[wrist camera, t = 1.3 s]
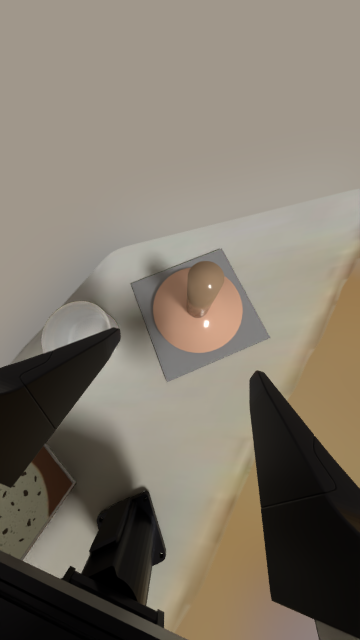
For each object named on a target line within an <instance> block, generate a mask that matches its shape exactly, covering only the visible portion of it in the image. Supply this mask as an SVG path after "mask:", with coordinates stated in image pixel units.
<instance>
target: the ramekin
mask: <svg viewBox="0 0 360 640" xmlns="http://www.w3.org/2000/svg"><path fill="white" fill-rule="evenodd" d="M113 327H115V328H119V327H118V325H117V323H116V321H115V320H114V319H113V318H112V317H111V316H110V315H108V314H107V313H105V312H104V310H102V309H101V308H100V307H99V306H97V305H96V304H93V303H91V302H87V301H75V302H71V303H68V304H65V305H63V306H62V307H60V308H59V309H57V310H56V311H55V312H54V313H53V314H52V315H51V316H50V317H49V319H48V320H47V322H46V324H45V326H44V328H43V332H42V337H41V345H42V350H43V353H46V352H49V351H52V350H54V349H57V348H60V347H62V346H65V345H68V344H70V343H73V342H75V341H78V340H81V339H83V338H86V337H89V336H91V335H94V334H97V333H99V332H102V331H105V330H107V329H110V328H113ZM117 346H118V345H117ZM116 348H117V347H116ZM116 348H115V350H116ZM115 350H114V351H115ZM113 353H114V352H113ZM113 353H112V354H113Z"/></svg>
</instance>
